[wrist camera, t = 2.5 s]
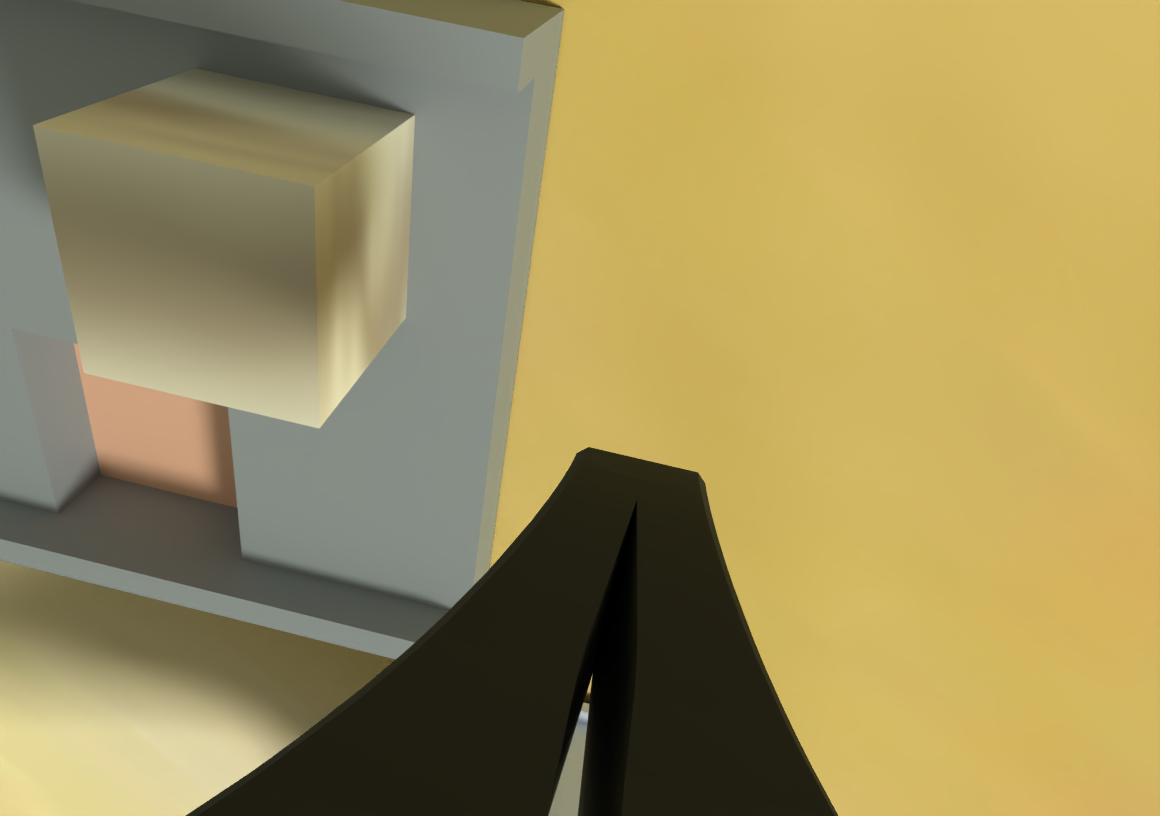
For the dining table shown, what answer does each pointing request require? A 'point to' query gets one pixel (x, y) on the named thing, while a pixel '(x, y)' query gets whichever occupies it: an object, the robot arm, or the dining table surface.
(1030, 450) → the dining table surface
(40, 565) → the box
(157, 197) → the birch block
